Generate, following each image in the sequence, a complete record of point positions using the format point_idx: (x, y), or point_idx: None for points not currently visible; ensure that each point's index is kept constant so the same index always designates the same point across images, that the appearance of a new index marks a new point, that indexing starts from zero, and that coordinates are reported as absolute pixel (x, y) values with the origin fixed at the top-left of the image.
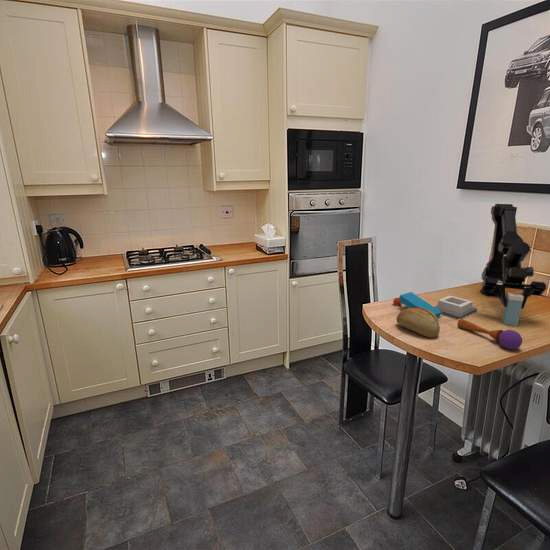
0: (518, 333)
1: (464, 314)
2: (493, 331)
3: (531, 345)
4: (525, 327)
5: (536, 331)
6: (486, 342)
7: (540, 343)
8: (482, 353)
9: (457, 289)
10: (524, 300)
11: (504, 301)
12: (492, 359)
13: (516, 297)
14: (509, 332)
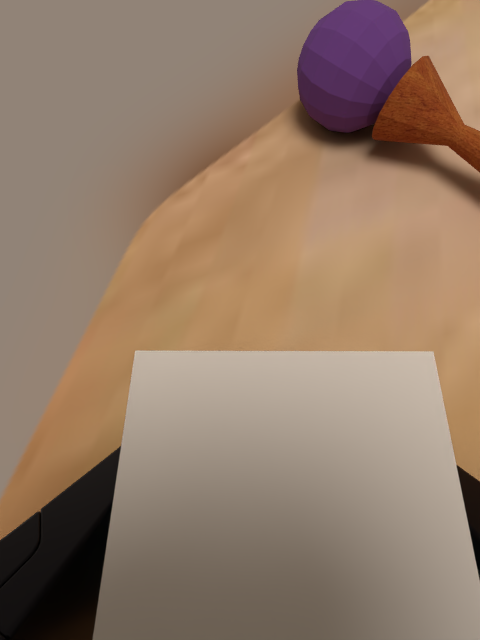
0: (327, 20)
1: None
2: (445, 89)
3: (227, 170)
4: None
5: (116, 376)
6: None
7: (171, 205)
8: (454, 42)
9: None
10: (101, 484)
11: None
12: (415, 19)
13: (281, 361)
14: (379, 3)
